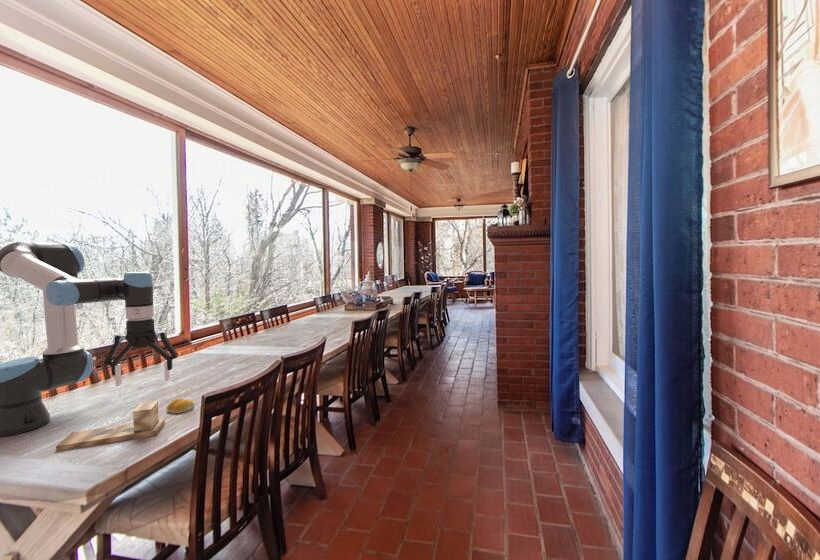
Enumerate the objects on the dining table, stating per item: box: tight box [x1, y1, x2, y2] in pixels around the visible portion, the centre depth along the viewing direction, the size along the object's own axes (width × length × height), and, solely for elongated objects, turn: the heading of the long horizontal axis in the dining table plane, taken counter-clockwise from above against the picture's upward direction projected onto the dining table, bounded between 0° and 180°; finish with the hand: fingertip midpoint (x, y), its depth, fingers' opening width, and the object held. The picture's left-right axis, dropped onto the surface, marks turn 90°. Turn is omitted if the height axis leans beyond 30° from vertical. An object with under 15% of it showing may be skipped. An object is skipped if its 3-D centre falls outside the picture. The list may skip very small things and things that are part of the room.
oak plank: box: [55, 418, 166, 452], centre depth 124 cm, size 26×10×2 cm, turn 111°
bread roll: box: [166, 398, 195, 414], centre depth 145 cm, size 8×9×4 cm
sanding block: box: [132, 400, 160, 433], centre depth 126 cm, size 5×8×7 cm, turn 21°
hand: (143, 382), depth 126 cm, fingers open, 13 cm apart
